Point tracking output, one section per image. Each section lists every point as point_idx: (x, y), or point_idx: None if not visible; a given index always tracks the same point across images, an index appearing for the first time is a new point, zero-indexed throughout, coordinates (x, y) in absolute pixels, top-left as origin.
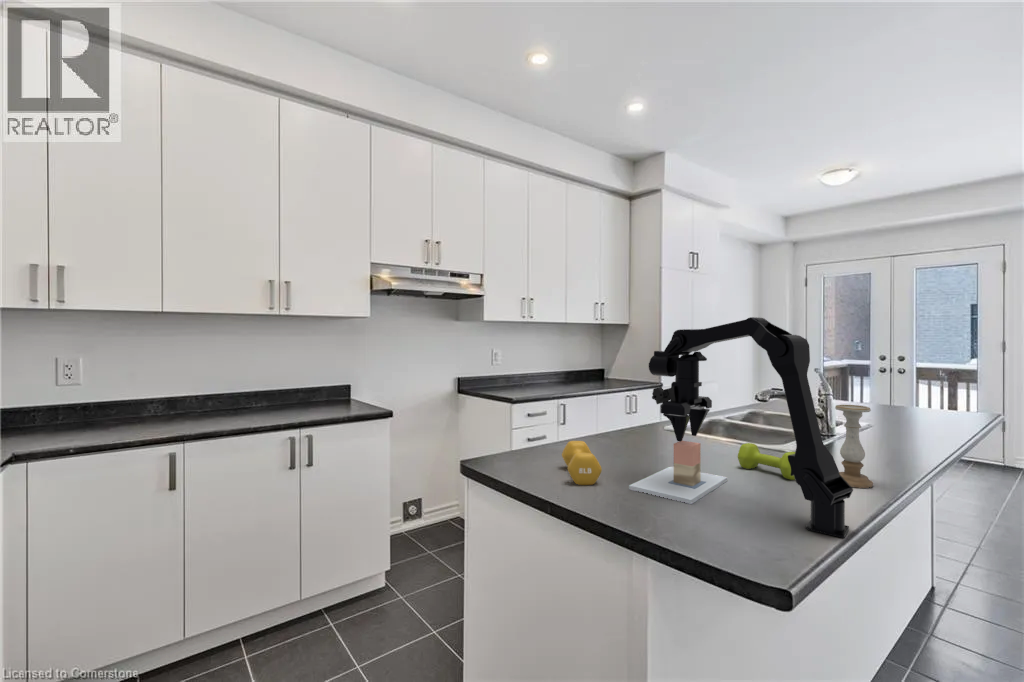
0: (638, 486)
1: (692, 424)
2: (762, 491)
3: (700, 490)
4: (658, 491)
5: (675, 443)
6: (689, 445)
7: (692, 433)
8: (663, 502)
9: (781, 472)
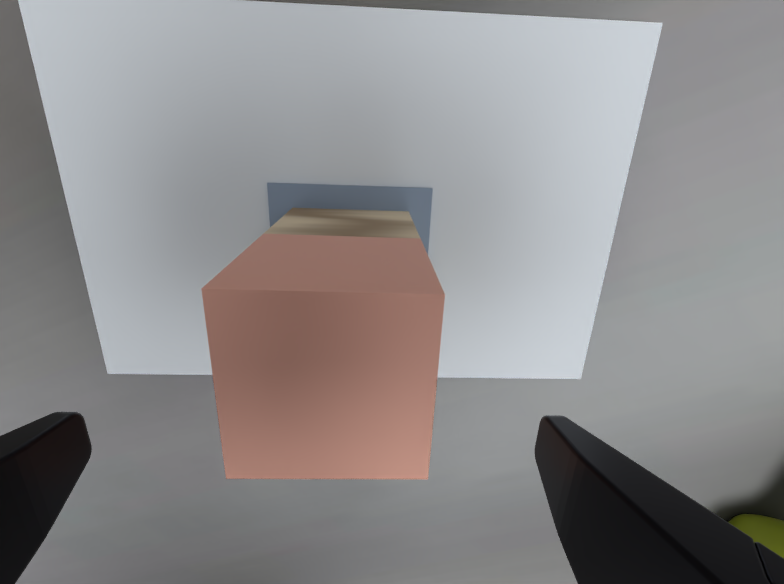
0: (54, 58)
1: (633, 555)
2: (497, 499)
3: None
4: (81, 204)
5: (225, 303)
6: (249, 443)
7: (548, 439)
8: (29, 263)
9: (748, 529)
